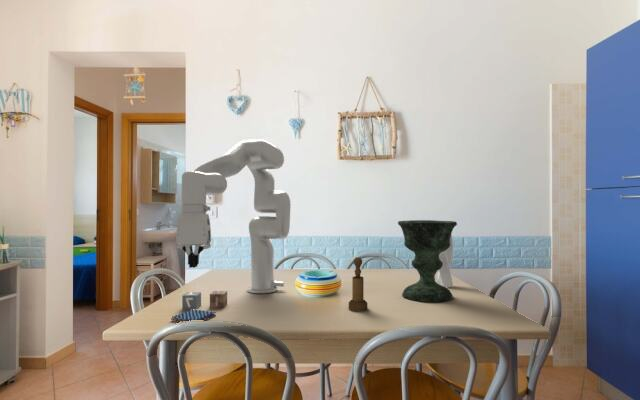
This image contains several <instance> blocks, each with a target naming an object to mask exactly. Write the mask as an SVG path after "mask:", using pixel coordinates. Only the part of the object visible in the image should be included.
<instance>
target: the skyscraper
mask: <svg viewBox="0 0 640 400" xmlns="http://www.w3.org/2000/svg"><path fill="white" fill-rule="evenodd" d="M453 254H454V244H453V236H452V233H451V237H450V247H449V248H448V249H447V250H445V251H443V252H441V253H440V254H439V259H440V261H442V263H443V265H442V268H441V269H440V270H438V271H437V276H436V277H437V278H436V277H435V276H434V280H435V282H436V283H437V284H439V285H441V286H444V287H449V288H453V287H454V284H453V279H452V274H451V266H452V262H453V261H452V260H453V257H454V255H453ZM452 286H453V287H452Z"/></svg>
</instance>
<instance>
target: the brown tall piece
mask: <svg viewBox="0 0 640 400" xmlns="http://www.w3.org/2000/svg"><path fill="white" fill-rule="evenodd" d="M353 264H354V266H355V269H354V276H352V277H351V278H352V279H351V280H352V281H351V282H352V287H351V289H352V295H351V296H352V297H351V298H352V299H351V300H349V301H348V310H349V311H351V312H366V311H368V307H369V306H368V302H367V301H366V300H365V299H364V297H365V296H364V276H361V274H362V269H361V266H362V264H363V259H362V258H361V257H355V258H354V259H353Z"/></svg>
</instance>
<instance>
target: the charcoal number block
mask: <svg viewBox="0 0 640 400" xmlns="http://www.w3.org/2000/svg"><path fill="white" fill-rule="evenodd" d="M181 298H182V299H181V300H182V307H181V308H182V309H181V310H182V311H185V310H184V309H189V310H191V309H197V310H199V309H200V308H201V307H202V291H200V292H198V291H197V292H195V291H193V292H192V291H191V292H190V291H189V292H188V291H187V292H185V293H184V294H183V295H182V296H181ZM189 310H188V311H189Z"/></svg>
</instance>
